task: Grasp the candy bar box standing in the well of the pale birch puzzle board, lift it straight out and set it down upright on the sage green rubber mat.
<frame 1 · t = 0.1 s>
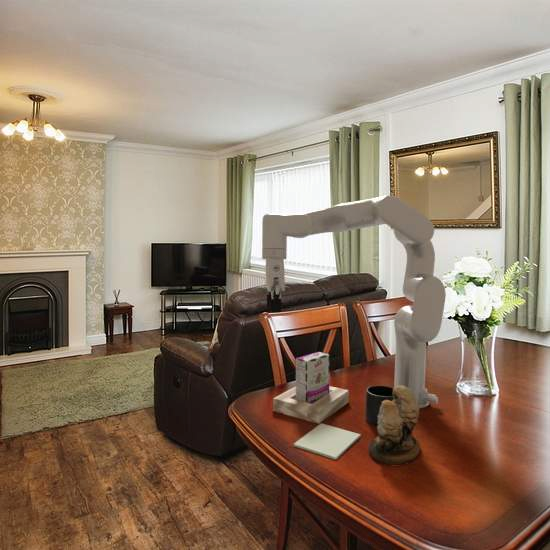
hand: (273, 309, 136), 31 cm above the table, tool pointing down, fingers open, 9 cm apart
mat: (327, 441, 116), on the table
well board: (311, 406, 139), on the table
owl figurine: (394, 450, 112), on the table
candy bar box: (312, 407, 139), resting in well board
mug: (383, 419, 130), on the table
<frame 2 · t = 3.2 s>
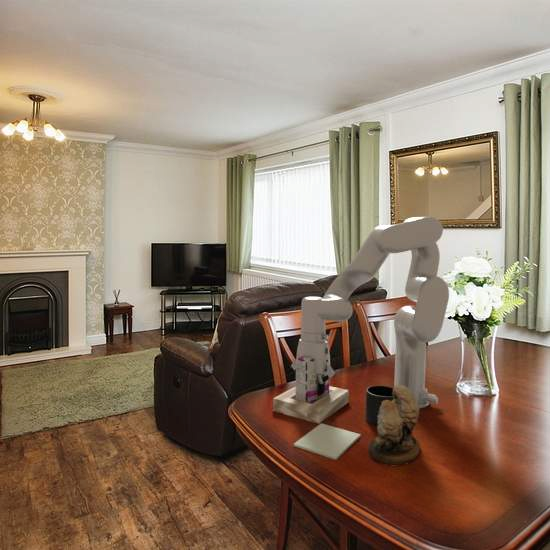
hand: (312, 391, 139), 5 cm above the table, tool pointing down, fingers closed on candy bar box, 5 cm apart
candy bar box: (312, 406, 139), resting in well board, touching gripper
everything else where it was.
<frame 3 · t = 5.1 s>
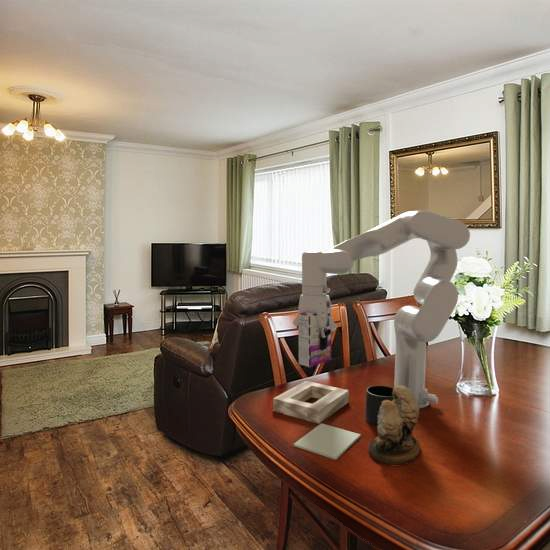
hand: (314, 347, 137), 19 cm above the table, tool pointing down, fingers closed on candy bar box, 5 cm apart
candy bar box: (314, 362, 138), point 14 cm above the table, touching gripper
everything else where it was.
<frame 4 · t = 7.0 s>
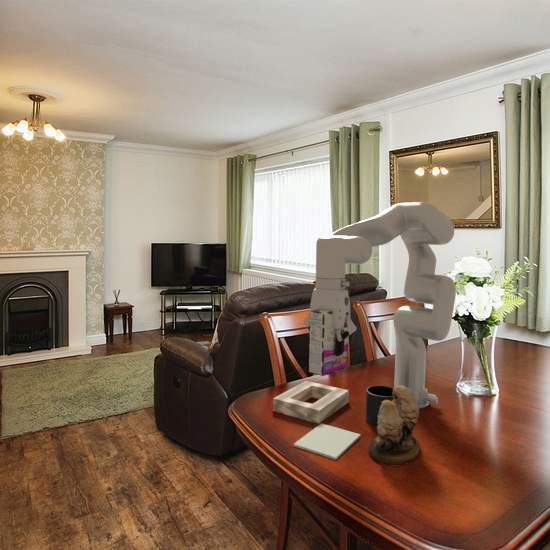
hand: (328, 352, 115), 24 cm above the table, tool pointing down, fingers closed on candy bar box, 5 cm apart
candy bar box: (328, 370, 116), point 19 cm above the table, touching gripper
everything else where it was.
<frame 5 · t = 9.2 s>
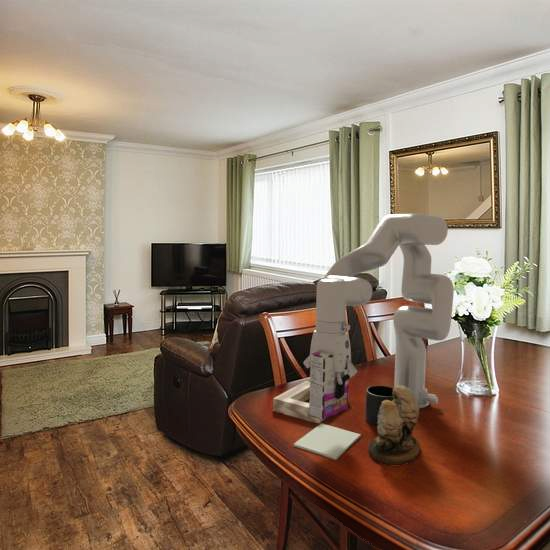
hand: (328, 394, 115), 13 cm above the table, tool pointing down, fingers closed on candy bar box, 5 cm apart
candy bar box: (328, 412, 115), point 8 cm above the table, touching gripper
everything else where it was.
when the fingers open (7 cm above the table, at t = 10.8 s): candy bar box drops 1 cm, resting on mat.
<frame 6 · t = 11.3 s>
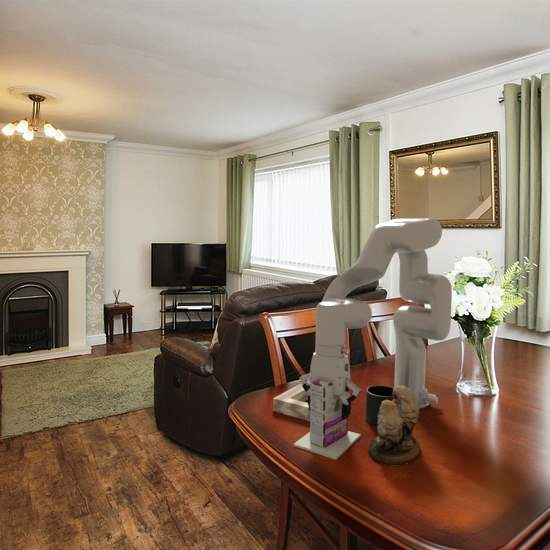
hand: (328, 413, 115), 8 cm above the table, tool pointing down, fingers open, 9 cm apart
candy bar box: (328, 439, 116), resting on mat
everything else where it was.
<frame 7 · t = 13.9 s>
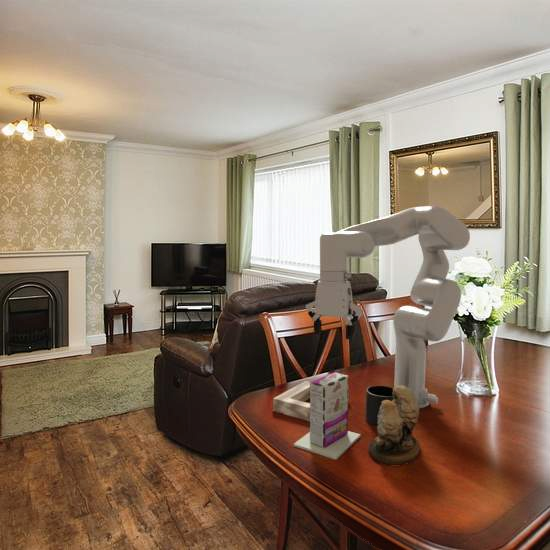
hand: (333, 336, 125), 25 cm above the table, tool pointing down, fingers open, 9 cm apart
nothing on the table moved.
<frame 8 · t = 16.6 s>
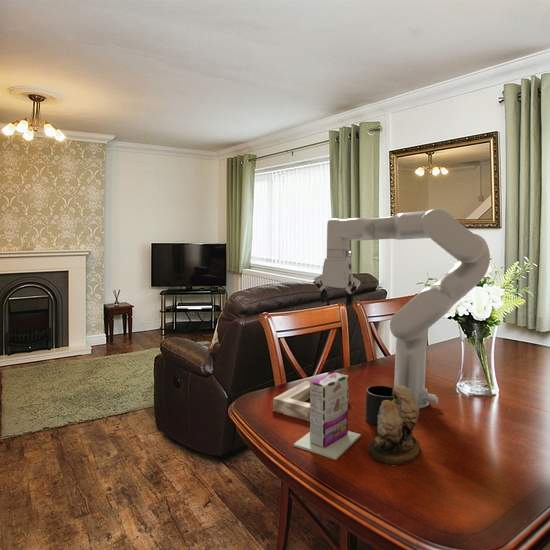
hand: (336, 303, 154), 30 cm above the table, tool pointing down, fingers open, 9 cm apart
nothing on the table moved.
at the end: candy bar box inside the target area on the mat (0.4 cm from its centre), point 0.4 cm above the mat's base; candy bar box tilted 0°; the gripper is holding nothing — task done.
